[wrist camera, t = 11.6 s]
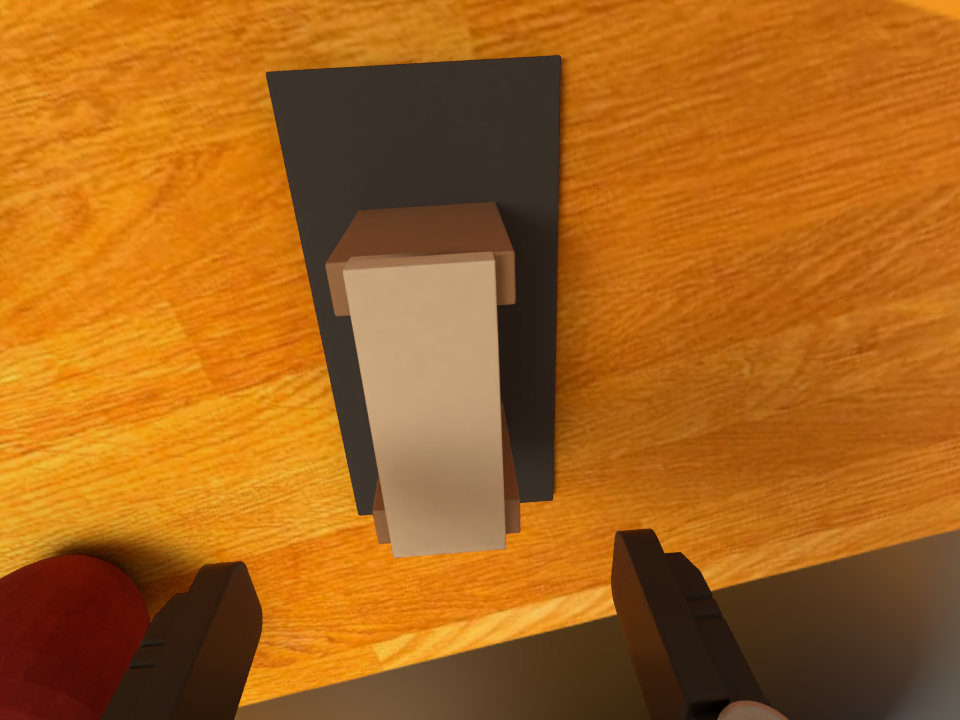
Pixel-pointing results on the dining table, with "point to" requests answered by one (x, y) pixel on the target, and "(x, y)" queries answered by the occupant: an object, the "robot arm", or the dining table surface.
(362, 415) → the mat
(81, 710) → the apple
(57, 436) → the dining table surface
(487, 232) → the beige wooden bench
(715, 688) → the robot arm
